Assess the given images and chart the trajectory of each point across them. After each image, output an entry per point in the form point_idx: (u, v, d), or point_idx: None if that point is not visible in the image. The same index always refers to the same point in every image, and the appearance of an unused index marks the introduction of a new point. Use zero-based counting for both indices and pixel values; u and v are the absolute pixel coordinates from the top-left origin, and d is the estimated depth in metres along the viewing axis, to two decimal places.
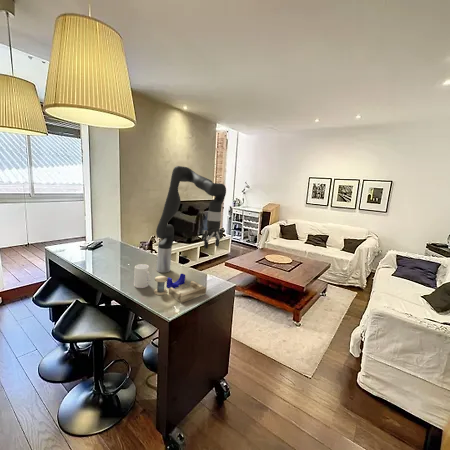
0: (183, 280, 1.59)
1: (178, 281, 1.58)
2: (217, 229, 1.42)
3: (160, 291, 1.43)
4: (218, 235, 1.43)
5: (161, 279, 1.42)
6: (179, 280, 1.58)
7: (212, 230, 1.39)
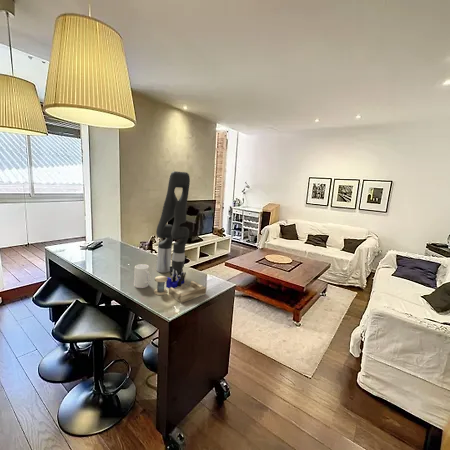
0: None
1: None
2: None
3: (160, 291, 1.43)
4: None
5: (161, 279, 1.42)
6: None
7: None
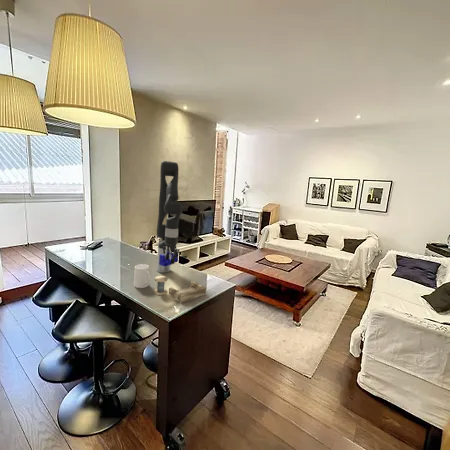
0: (176, 258, 1.54)
1: None
2: None
3: (160, 291, 1.43)
4: None
5: (161, 279, 1.42)
6: None
7: None
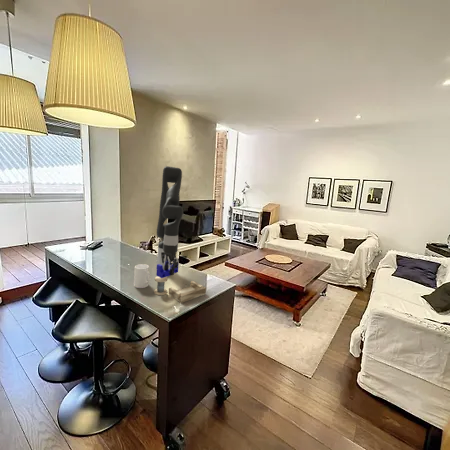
0: (176, 268, 1.38)
1: None
2: None
3: (160, 291, 1.43)
4: None
5: (161, 279, 1.42)
6: None
7: None
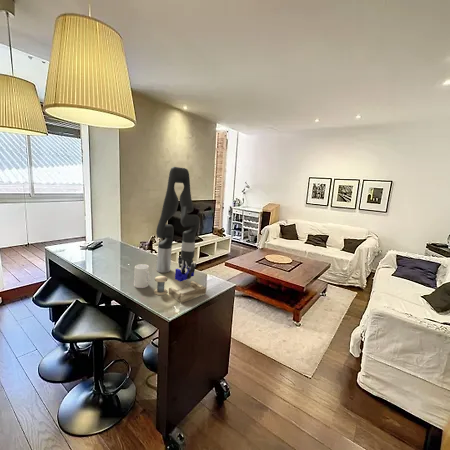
0: None
1: None
2: None
3: (160, 291, 1.43)
4: None
5: (161, 279, 1.42)
6: None
7: None
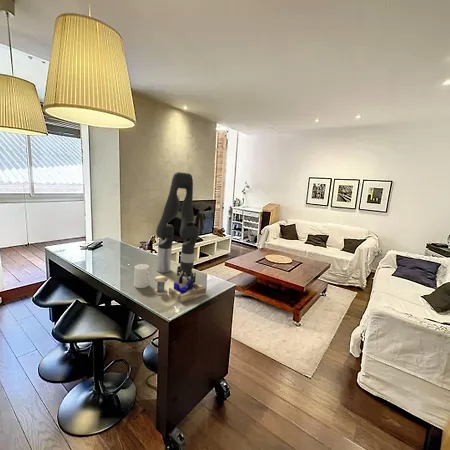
0: None
1: (186, 286, 1.49)
2: None
3: (160, 291, 1.43)
4: None
5: (161, 279, 1.42)
6: (187, 285, 1.50)
7: None
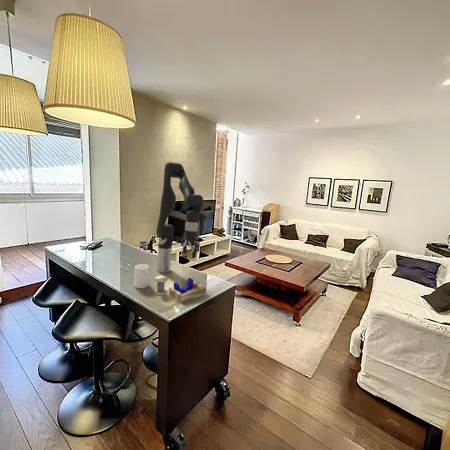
0: (191, 285, 1.50)
1: (185, 286, 1.49)
2: None
3: (160, 291, 1.43)
4: None
5: (161, 279, 1.42)
6: (187, 285, 1.50)
7: None
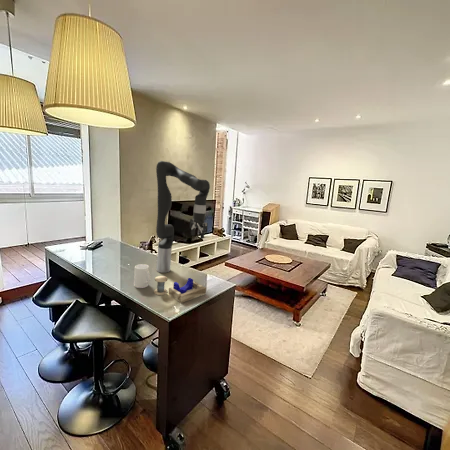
0: (191, 285, 1.50)
1: (185, 286, 1.49)
2: None
3: (160, 291, 1.43)
4: None
5: (161, 279, 1.42)
6: (186, 285, 1.50)
7: None
